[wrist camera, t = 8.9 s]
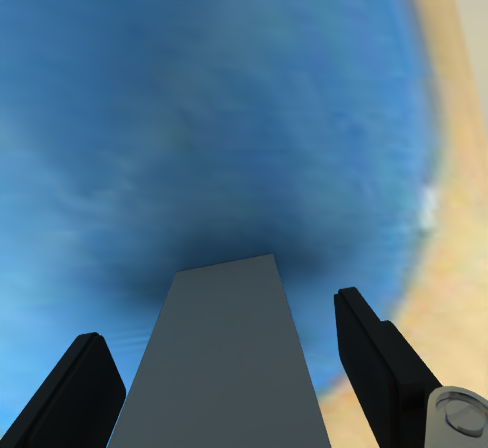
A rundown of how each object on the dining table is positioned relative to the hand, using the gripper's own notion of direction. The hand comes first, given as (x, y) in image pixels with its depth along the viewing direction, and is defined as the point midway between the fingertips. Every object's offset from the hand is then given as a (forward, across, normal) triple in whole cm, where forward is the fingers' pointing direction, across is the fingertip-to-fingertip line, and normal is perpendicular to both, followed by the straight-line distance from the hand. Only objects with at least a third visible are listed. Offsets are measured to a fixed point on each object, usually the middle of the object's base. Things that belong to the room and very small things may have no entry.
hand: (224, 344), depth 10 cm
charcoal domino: (+5, 0, 0) cm, 5 cm away
